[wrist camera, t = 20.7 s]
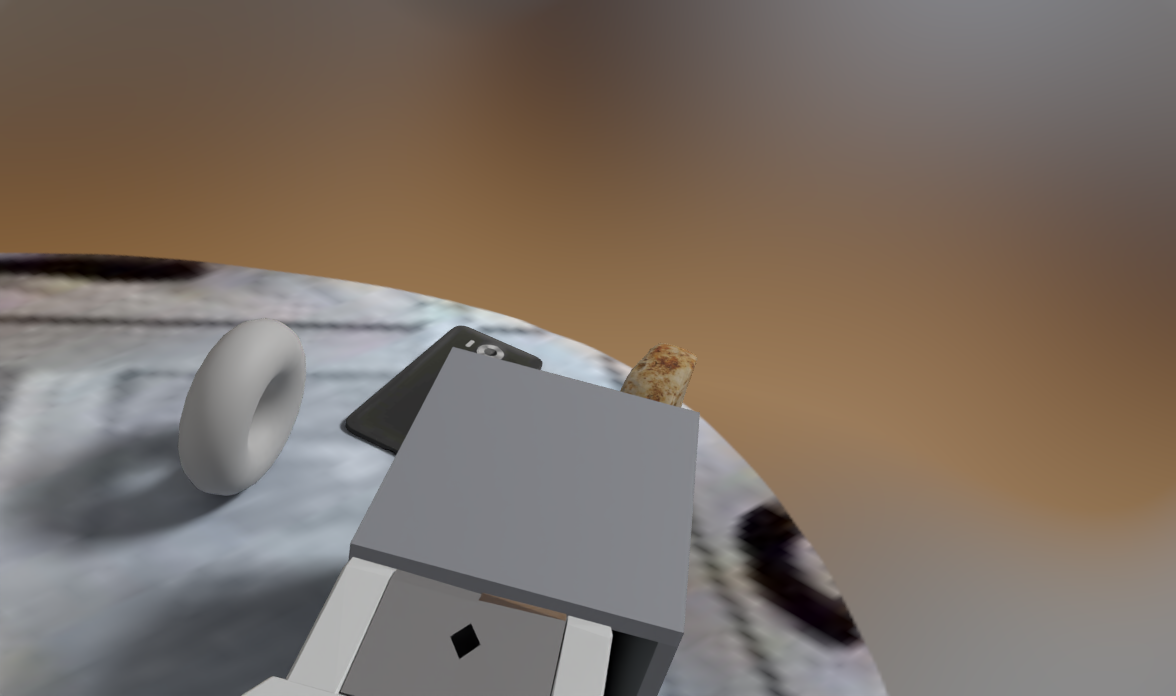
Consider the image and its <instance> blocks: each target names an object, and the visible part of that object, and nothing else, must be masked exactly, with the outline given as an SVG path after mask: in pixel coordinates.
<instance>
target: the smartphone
mask: <svg viewBox="0 0 1176 696" xmlns="http://www.w3.org/2000/svg"><path fill="white" fill-rule="evenodd" d="M452 347H455V348H459V349H463V350H467V351H470V352H474V353H478V354H482V355H485V356H489V357H493V358H497V359H500V360H504V361H508V362H512V363H515V364H519V365H523V366H527V367H530V368H534V369H538V370H541V367H542V361H541V360H540V359H539V358H538V357H536V356H534V355H531V354H529V353H527V352H524V351H522V350H520V349H517V348H515V347H513V346H511V345H508V344H506V343H504V342H501V341H499V340H497V339H494V338H492V337H490V336H488V335H485V334H483V333H481V332H478V331H476V330H474V329H472V328H469V327H466V326H456V327H454V328H453V329H451V330H450V331H449V332H448V333H447V334H445V335H444V336H443V337H442V338H441V339H440V340H438V341H437V342H436V343H435V344H434V345H432V346H431V347H430V348H429V349H428V350H426V351H425V352H424V353H423V354H422V355H421V356H419V357H418V358H417V359H416V360H415V361H413V362H412V363H411V364H410V365H409V366H408V367H406V368H405V369H404V370H403V371H402V372H400V373H399V374H398V375H397V376H396V377H395V378H393V379H392V380H391V381H390V382H389V383H387V384H386V385H385V386H384V387H383V388H382V389H380V390H379V391H378V392H377V393H376V394H374V395H373V396H372V397H371V398H370V399H369V400H367V401H366V402H365V403H364V404H363V405H361V406H360V407H359V408H358V409H357V410H356V411H354V412H353V413H352V414H351V415H350V416H349V417H348V418H347V420H346V428H347V430H348V431H350V432H351V433H353V434H355V435H357V436H359V437H361V438H363V439H365V440H367V441H369V442H371V443H373V444H375V445H377V446H379V447H381V448H383V449H385V450H386V449H389V450H391V451H393V452H395V454H396V455H397V453H398V451H399V449H400V447H401V445H402V443H403V441H404V440H405V438H406V436H407V434H408V432H409V430H410V428H411V426H412V424H413V422H414V420H415V418H416V416H417V415H418V413H419V411H420V409H421V407H422V405H423V403H424V401H425V399H426V397H427V395H428V393H429V392H430V390H431V388H432V386H433V384H434V382H435V380H436V378H437V376H438V374H439V372H440V370H441V369H442V367H443V365H444V363H445V361H446V359H447V357H448V355H449V353H450V351H451V349H452Z"/></svg>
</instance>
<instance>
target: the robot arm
mask: <svg viewBox="0 0 1176 696" xmlns="http://www.w3.org/2000/svg"><path fill="white" fill-rule="evenodd" d="M566 615H567V614H564V613H560V612H556V611H552V610H548V609H545V608H541V607H537V606H533V605H529V604H525V603H521V602H517V601H513V600H509V599H505V598H501V597H497V596H493V595H490V594H486V593H482V594H479V593H476V592H473V591H469V590H466V589H462V588H459V587H456V586H452V585H449V584H446V583H442V582H439V581H436V580H432V579H429V578H426V577H422V576H419V575H415V574H412V573H409V572H405V571H402V570H399V569H394V568H391V567H387V566H384V565H380V564H377V563H373V562H370V561H366V560H363V559H359V558H355V557H352V558H351V559H350V561H349V562H348V563H347V564H346V565H345V566H344V567H343V569H342V571H341V573H340V575H339V577H338V579H337V581H336V582H335V584H334V586H333V588H332V590H331V592H330V594H329V596H328V598H327V600H326V602H325V604H324V606H323V608H322V610H321V612H320V613H319V615H318V617H317V619H316V621H315V623H314V625H313V627H312V629H311V631H310V633H309V635H308V637H307V639H306V641H305V642H304V644H303V646H302V648H301V650H300V652H299V654H298V656H297V658H296V660H295V662H294V664H293V666H292V668H291V670H290V672H289V673H288V675H287V677H286V679H283V678H278V677H274V676H271V677H270V678H268V679H266V680H265V681H263V682H262V683H260V684H259V685H257V686H255V687H254V688H252V689H251V690H249V691H247V692H246V693H244V694H243V695H241V696H603V695H604V689H605V682H606V676H607V669H608V663H609V656H610V649H611V643H612V636H613V635H612V630H611V627H609V626H605V625H602V624H598V623H594V622H591V621H587V620H583V619H579V618H576V617H572V616H568V617H567V618H566Z"/></svg>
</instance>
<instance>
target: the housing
mask: <svg viewBox="0 0 1176 696" xmlns="http://www.w3.org/2000/svg"><path fill="white" fill-rule="evenodd" d="M699 415H700V413H699V412H695V411H691V410H688V409H684V408H680V407H676V406H673V405H669V404H665V403H661V402H658V401H654V400H650V399H646V398H643V397H639V396H635V395H631V394H628V393H624V392H620V391H616V390H613V389H609V388H605V387H601V386H598V385H594V384H590V383H587V382H583V381H579V380H575V379H572V378H568V377H564V376H560V375H557V374H553V373H549V372H545V371H542V370H538V369H534V368H530V367H527V366H523V365H519V364H515V363H512V362H508V361H504V360H500V359H497V358H493V357H489V356H485V355H482V354H478V353H474V352H470V351H467V350H463V349H459V348H455V347H452V349H451V351H450V353H449V355H448V357H447V359H446V361H445V363H444V365H443V367H442V369H441V370H440V372H439V374H438V376H437V378H436V380H435V382H434V384H433V386H432V388H431V390H430V392H429V393H428V395H427V397H426V399H425V401H424V403H423V405H422V407H421V409H420V411H419V413H418V415H417V416H416V418H415V420H414V422H413V424H412V426H411V428H410V430H409V432H408V434H407V436H406V438H405V440H404V441H403V443H402V445H401V447H400V449H399V451H398V453H397V455H396V457H395V459H394V461H393V463H392V464H391V466H390V468H389V470H388V472H387V474H386V476H385V478H384V480H383V482H382V484H381V486H380V487H379V489H378V491H377V493H376V495H375V497H374V499H373V501H372V503H371V505H370V507H369V509H368V510H367V512H366V514H365V516H364V518H363V520H362V522H361V524H360V526H359V528H358V530H357V532H356V533H355V535H354V537H353V539H352V541H351V543H350V553H349V561H350V559H351V558H352V557H355V558H359V559H363V560H366V561H370V562H373V563H377V564H380V565H384V566H387V567H391V568H394V569H399V570H402V571H405V572H409V573H412V574H415V575H419V576H422V577H426V578H429V579H432V580H436V581H439V582H442V583H446V584H449V585H452V586H456V587H459V588H462V589H466V590H469V591H473V592H476V593H479V594H482V593H486V594H490V595H493V596H497V597H501V598H505V599H509V600H513V601H517V602H521V603H525V604H529V605H533V606H537V607H541V608H545V609H548V610H552V611H556V612H560V613H564V614H567V615H566V617H568V616H572V617H576V618H579V619H583V620H587V621H591V622H594V623H598V624H602V625H605V626H609V627H611V630H612V635H613V636H612V643H611V649H610V656H609V663H608V669H607V676H606V682H605V689H604V695H603V696H657V695H658V693H659V690H660V688H661V685H662V683H663V681H664V678H665V676H666V674H667V671H668V669H669V667H670V664H671V662H672V660H673V657H674V655H675V653H676V650H677V648H678V646H679V643H680V641H681V639H682V636H683V634H684V624H685V610H686V596H687V583H688V569H689V555H690V541H691V527H692V513H693V499H694V485H695V471H696V457H697V443H698V429H699Z"/></svg>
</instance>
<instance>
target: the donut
mask: <svg viewBox="0 0 1176 696" xmlns="http://www.w3.org/2000/svg"><path fill="white" fill-rule="evenodd" d="M305 380H306V361H305V353H304V350H303V347H302V344H301V342H300V340H299V337H298V336H297V335H296V334H295V333H294V332H293V331H292V330H291V329H290V328H288V327H287V326H286V325H284V324H283V323H281V322H279V321H277V320H274V319H267V318H265V319H257V320H251V321H245V322H243V323H241V324H240V325H238V326H236V327H235V328H233V329H232V330H230V331H229V332H228V333H226V334H225V335H223V337H222V338H221V339H220V340H219V341H218V342H217V344H216V345H215V346H214V347H213V348H212V350H211V351H210V352H209V353H208V355H207V356H206V358H205V360H204V362H203V363H202V365H201V367H200V368H199V370H198V372H197V373H196V375H195V377H194V380H193V382H192V385H191V387H190V390H189V392H188V394H187V397H186V400H185V404H184V408H183V412H182V416H181V419H180V426H179V438H178V451H179V457H180V462H181V466H182V469H183V471H184V473H185V474H186V475H187V477H188V478H189V479H190V481H191V482H192V483H193V484H194V485H195V486H196V487H197V489H199V490H201V491H203V492H205V493H210V494H216V495H225V496H228V495H234V494H237V493H239V492H241V491H243V490H245V489H247V488H248V487H250V486H252V485H254V484H256V483H257V481H258V480H259V479H260V478H261V477H262V476H263V475H264V474H265V473H266V472H267V471H268V470H269V469H270V468H271V466H272V465H273V463H274V462H275V460H276V459H277V457H278V456H279V454H280V453H281V451H282V449H283V447H284V445H285V443H286V442H287V440H288V438H289V436H290V434H291V431H292V428H293V426H294V423H295V421H296V418H297V416H298V412H299V409H300V405H301V401H302V398H303V393H304V387H305Z"/></svg>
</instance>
